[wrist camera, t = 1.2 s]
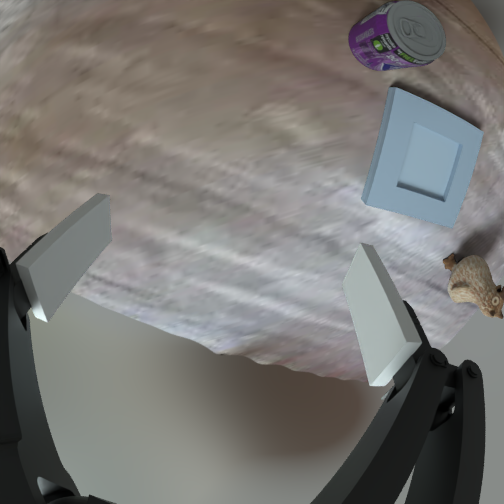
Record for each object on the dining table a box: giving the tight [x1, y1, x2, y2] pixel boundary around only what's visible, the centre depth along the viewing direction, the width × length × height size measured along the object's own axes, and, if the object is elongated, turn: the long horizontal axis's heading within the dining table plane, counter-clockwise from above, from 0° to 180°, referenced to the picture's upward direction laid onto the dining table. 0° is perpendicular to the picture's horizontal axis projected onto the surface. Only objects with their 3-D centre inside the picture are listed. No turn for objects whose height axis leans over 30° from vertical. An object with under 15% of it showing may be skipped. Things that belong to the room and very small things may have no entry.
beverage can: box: [349, 0, 446, 71], centre depth 19 cm, size 7×7×12 cm
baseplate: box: [361, 87, 484, 228], centre depth 31 cm, size 16×16×2 cm
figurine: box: [443, 254, 504, 319], centre depth 33 cm, size 9×10×15 cm
